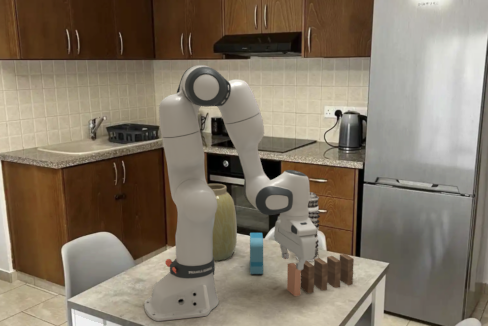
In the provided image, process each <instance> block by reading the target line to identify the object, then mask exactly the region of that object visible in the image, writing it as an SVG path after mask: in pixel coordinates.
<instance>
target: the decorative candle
mask: <svg viewBox="0 0 488 326" xmlns="http://www.w3.org/2000/svg"><path fill="white" fill-rule="evenodd" d="M319 199H320V197H319V196H318V195H317V194H316V193H315V192H311V191H310V197H309V203H308V211H309V218H310V220H311V221H312V223H313V224H314V225H315V227H316V228H317V231H318V230H319V229H320V228H319V227H320V220H319V218H320V217H321V216H320V214H321V211H320V210H319ZM314 236H315V240H316V244H315V256H314V258H313V259H312V260H306V261H308V262H309V263H311V262H314V259H317V258H319V257H318V256H319V235H318V232H317V233H316V234H314ZM295 259H296V260H298V256H296V255H295Z"/></svg>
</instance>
